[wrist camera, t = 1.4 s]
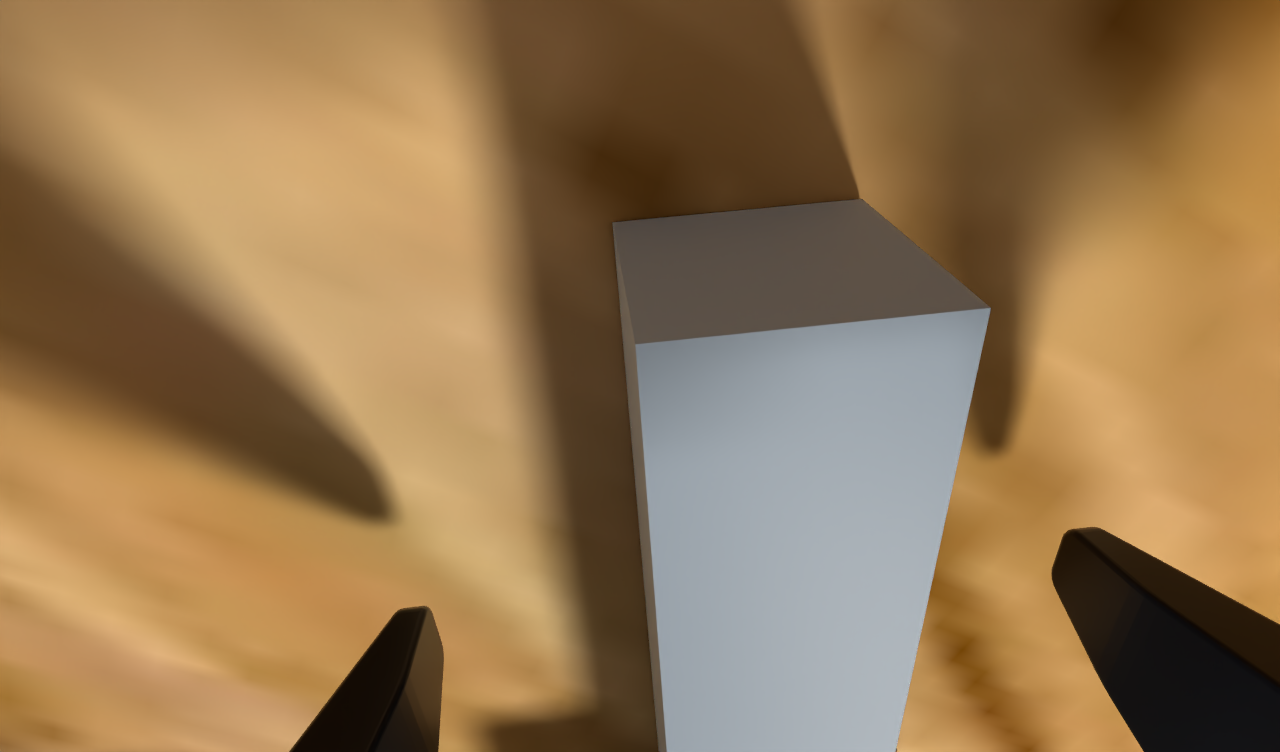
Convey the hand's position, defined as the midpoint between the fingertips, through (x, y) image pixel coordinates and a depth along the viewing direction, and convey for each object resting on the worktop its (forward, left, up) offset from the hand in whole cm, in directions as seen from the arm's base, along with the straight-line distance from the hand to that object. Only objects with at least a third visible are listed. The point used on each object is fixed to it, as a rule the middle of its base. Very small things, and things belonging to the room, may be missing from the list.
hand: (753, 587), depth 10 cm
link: (-5, 0, -1) cm, 5 cm away
